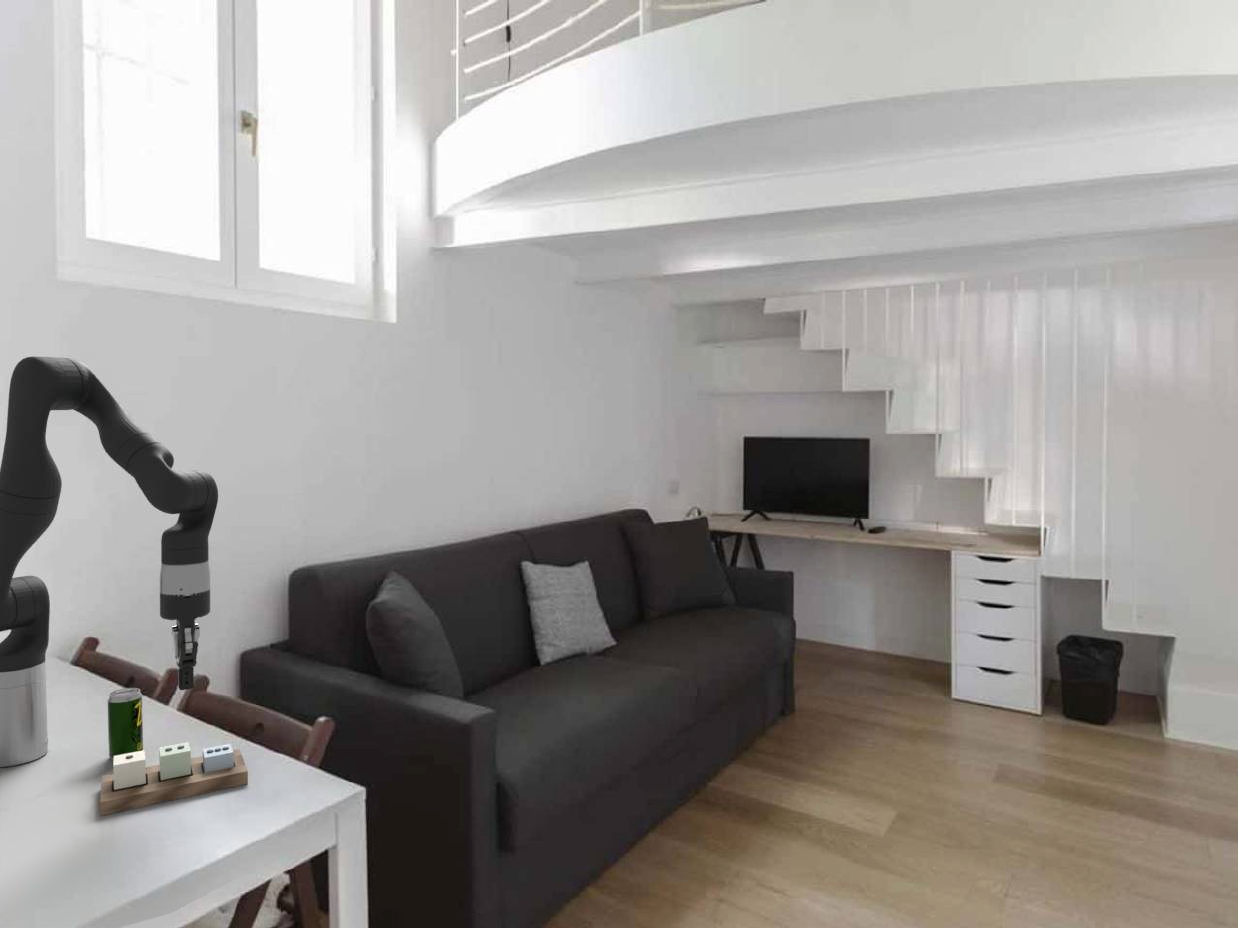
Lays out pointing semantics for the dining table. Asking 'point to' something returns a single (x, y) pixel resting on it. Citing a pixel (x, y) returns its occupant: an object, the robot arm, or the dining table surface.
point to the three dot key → (218, 758)
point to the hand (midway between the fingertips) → (185, 688)
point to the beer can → (125, 722)
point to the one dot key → (129, 769)
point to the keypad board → (170, 785)
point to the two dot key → (175, 760)
